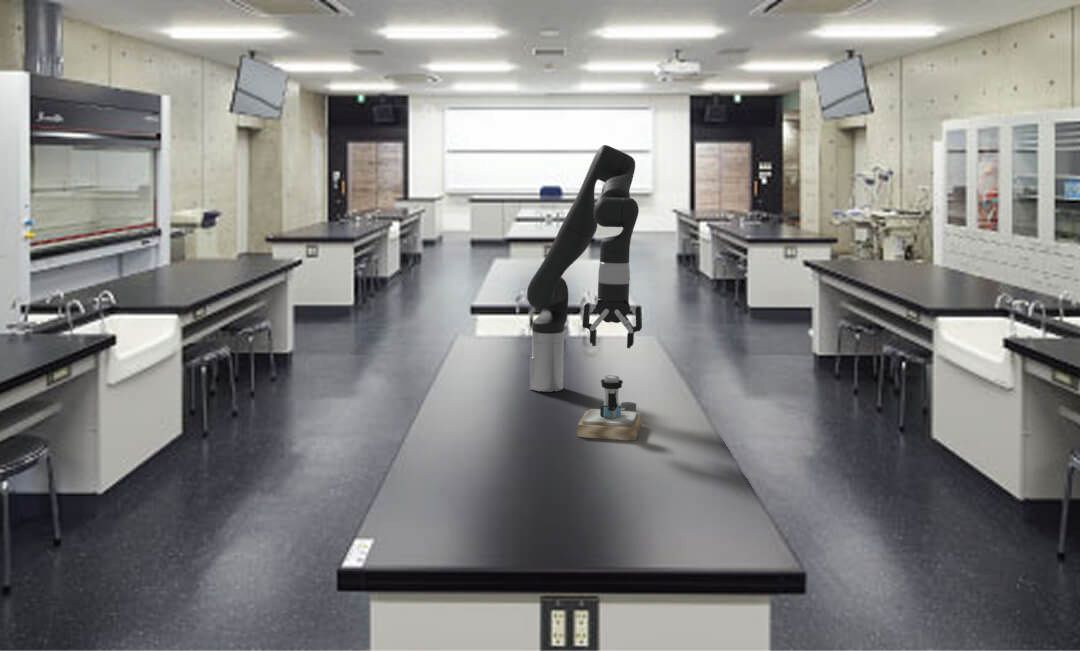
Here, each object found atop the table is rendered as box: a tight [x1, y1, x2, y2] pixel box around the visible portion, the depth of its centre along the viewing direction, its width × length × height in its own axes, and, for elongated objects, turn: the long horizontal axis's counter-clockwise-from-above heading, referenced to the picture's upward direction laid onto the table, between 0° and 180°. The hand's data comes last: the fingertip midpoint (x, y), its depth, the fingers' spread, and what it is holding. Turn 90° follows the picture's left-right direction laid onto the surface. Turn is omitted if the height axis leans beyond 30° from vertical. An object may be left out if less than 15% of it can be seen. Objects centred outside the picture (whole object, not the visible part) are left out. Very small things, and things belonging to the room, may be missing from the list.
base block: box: [576, 408, 642, 441], centre depth 238 cm, size 14×14×4 cm
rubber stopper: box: [620, 401, 637, 412], centre depth 250 cm, size 4×4×4 cm
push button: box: [599, 374, 625, 418], centre depth 237 cm, size 7×5×10 cm
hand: (611, 346), depth 235 cm, fingers open, 8 cm apart
